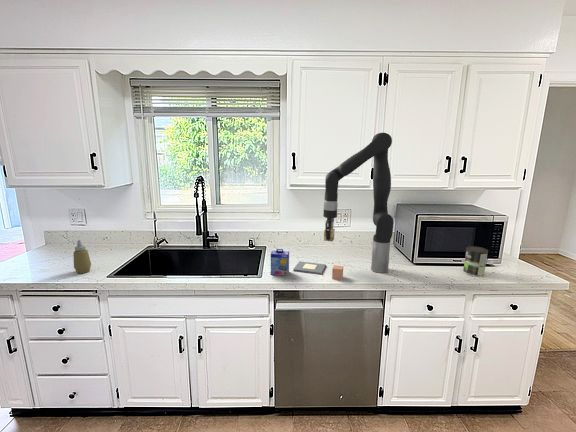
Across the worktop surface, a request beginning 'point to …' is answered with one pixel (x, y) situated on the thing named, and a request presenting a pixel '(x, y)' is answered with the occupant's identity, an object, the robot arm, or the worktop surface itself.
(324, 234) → the maple block
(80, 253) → the squeeze bottle
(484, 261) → the coffee can
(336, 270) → the terracotta block
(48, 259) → the worktop surface
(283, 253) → the ink cartridge box
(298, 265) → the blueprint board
